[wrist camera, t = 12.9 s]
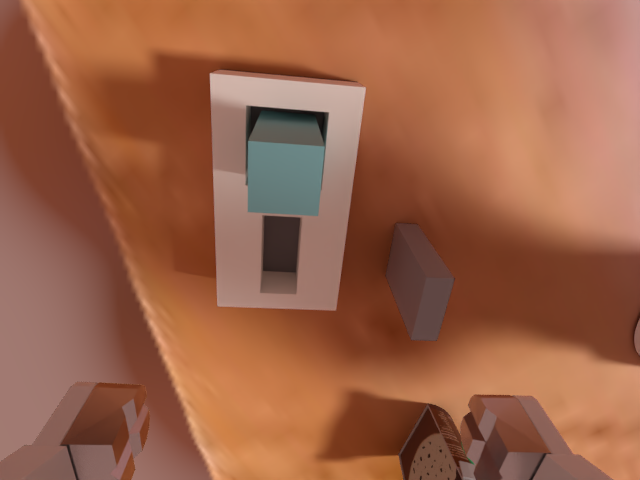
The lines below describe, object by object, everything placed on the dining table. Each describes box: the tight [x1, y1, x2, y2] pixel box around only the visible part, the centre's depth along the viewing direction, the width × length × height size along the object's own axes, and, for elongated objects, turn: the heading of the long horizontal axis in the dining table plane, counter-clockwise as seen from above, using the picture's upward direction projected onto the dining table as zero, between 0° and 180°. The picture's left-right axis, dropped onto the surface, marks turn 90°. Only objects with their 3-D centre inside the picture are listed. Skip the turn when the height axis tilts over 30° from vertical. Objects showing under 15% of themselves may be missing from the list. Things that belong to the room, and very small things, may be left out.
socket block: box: [210, 69, 366, 311], centre depth 31 cm, size 10×18×4 cm, turn 175°
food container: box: [398, 404, 476, 480], centre depth 44 cm, size 12×6×10 cm, turn 163°
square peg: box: [248, 111, 325, 216], centre depth 26 cm, size 4×4×10 cm
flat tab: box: [386, 223, 455, 341], centre depth 32 cm, size 2×6×9 cm, turn 174°
